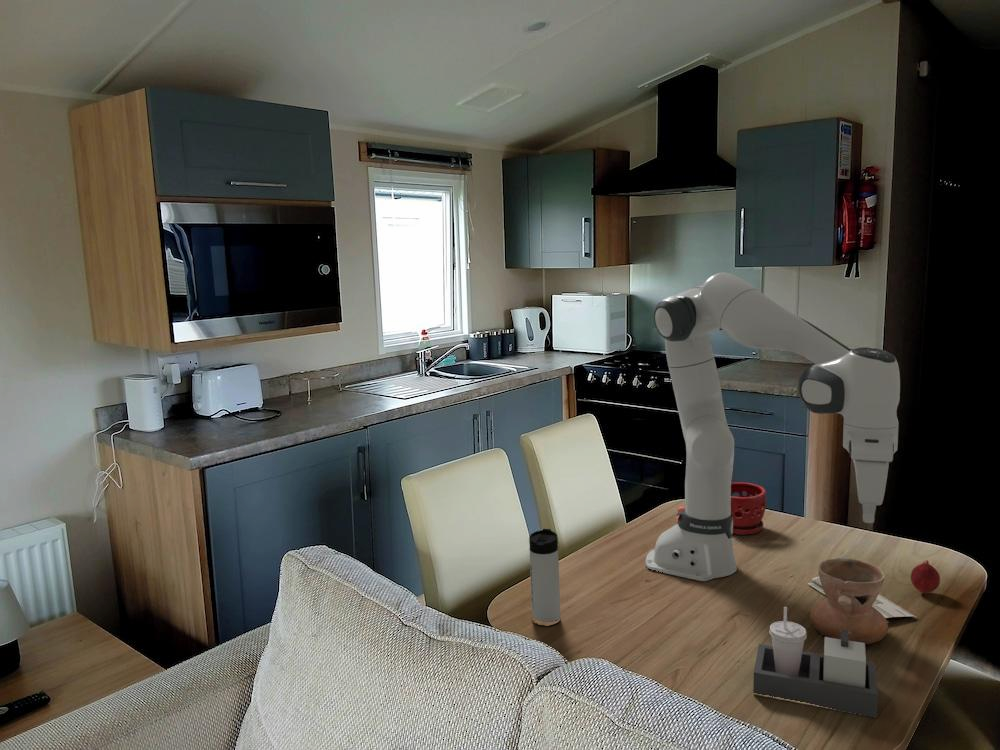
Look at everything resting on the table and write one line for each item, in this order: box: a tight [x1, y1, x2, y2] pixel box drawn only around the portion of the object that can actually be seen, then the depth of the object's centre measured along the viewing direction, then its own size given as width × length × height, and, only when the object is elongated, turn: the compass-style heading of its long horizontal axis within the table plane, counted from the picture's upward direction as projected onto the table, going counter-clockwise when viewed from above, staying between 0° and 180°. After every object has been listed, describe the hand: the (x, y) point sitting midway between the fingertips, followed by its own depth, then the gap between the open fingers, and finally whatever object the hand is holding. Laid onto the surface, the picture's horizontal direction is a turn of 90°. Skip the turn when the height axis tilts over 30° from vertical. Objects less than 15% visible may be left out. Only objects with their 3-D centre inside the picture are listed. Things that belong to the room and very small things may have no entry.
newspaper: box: [807, 576, 918, 624], centre depth 169 cm, size 23×12×2 cm, turn 12°
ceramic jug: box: [810, 557, 889, 645], centre depth 155 cm, size 18×14×14 cm
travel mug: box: [528, 528, 561, 622], centre depth 165 cm, size 6×7×20 cm
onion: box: [910, 559, 941, 595], centre depth 170 cm, size 6×6×8 cm
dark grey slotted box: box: [753, 629, 879, 719], centre depth 139 cm, size 20×16×10 cm
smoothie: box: [769, 606, 808, 676], centre depth 138 cm, size 6×6×14 cm
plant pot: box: [731, 481, 767, 536], centre depth 213 cm, size 13×13×12 cm
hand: (867, 512), depth 137 cm, fingers open, 8 cm apart
